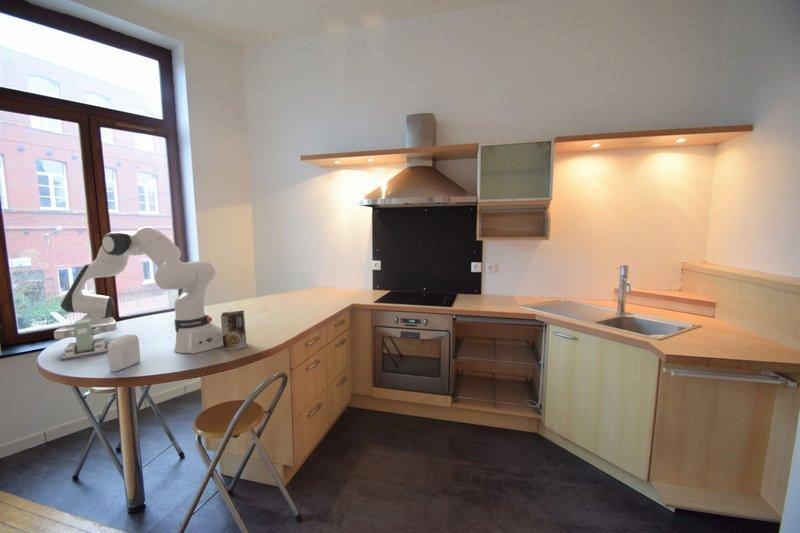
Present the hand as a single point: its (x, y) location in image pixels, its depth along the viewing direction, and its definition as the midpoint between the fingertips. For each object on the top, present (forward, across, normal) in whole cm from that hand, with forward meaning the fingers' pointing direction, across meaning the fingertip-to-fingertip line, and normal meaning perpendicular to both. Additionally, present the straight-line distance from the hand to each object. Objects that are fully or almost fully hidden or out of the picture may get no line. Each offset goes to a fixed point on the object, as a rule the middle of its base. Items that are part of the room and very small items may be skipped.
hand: (84, 334), depth 139 cm
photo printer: (+28, +15, +9) cm, 33 cm away
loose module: (-1, 0, +6) cm, 7 cm away
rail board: (-1, 0, +9) cm, 9 cm away
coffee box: (+32, +54, +9) cm, 63 cm away
